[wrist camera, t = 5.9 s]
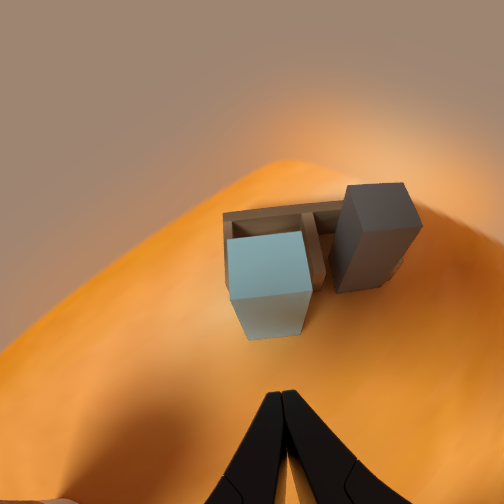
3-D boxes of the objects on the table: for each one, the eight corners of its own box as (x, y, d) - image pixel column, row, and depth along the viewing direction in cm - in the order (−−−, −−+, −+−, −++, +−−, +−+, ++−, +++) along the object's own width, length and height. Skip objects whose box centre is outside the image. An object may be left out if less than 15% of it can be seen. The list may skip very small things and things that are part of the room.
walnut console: (389, 280, 20) (403, 261, 18) (232, 300, 21) (225, 284, 18) (370, 220, 23) (379, 197, 20) (229, 235, 23) (222, 212, 21)
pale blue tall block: (300, 334, 19) (312, 290, 12) (248, 340, 19) (229, 299, 12) (294, 293, 21) (301, 231, 14) (245, 299, 21) (227, 239, 14)
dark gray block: (380, 286, 20) (422, 225, 13) (336, 293, 20) (363, 231, 13) (370, 251, 22) (403, 182, 15) (328, 257, 22) (347, 185, 15)
